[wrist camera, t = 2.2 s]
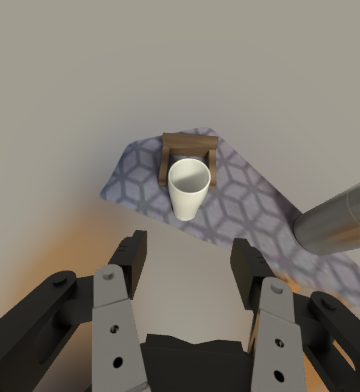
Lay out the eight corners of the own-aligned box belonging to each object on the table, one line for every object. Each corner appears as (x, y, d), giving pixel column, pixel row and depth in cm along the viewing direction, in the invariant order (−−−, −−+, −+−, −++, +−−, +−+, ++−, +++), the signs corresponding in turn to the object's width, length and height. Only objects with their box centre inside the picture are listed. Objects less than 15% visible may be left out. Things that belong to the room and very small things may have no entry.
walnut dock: (213, 189, 44) (219, 176, 39) (159, 185, 45) (157, 171, 39) (213, 152, 49) (218, 136, 44) (164, 149, 49) (163, 132, 44)
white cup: (183, 191, 44) (186, 150, 31) (205, 209, 42) (220, 173, 29) (163, 212, 42) (158, 177, 28) (187, 231, 40) (193, 203, 26)
